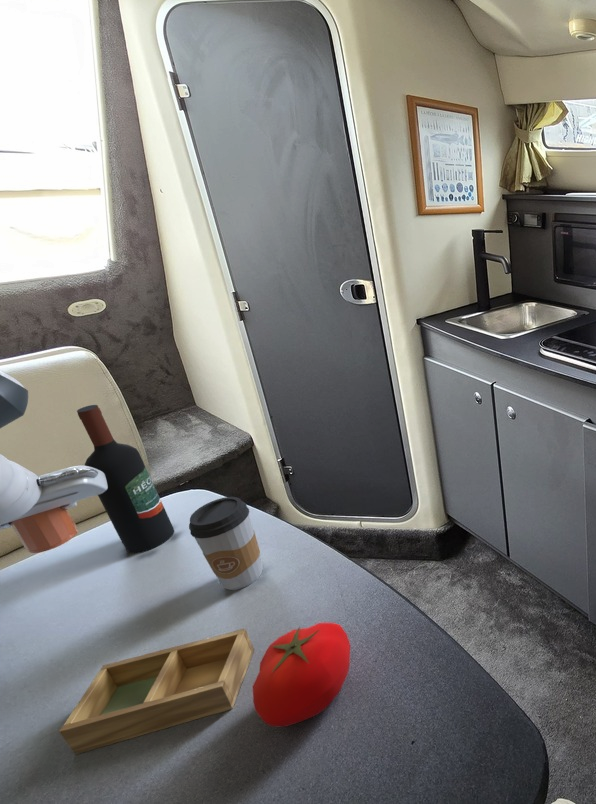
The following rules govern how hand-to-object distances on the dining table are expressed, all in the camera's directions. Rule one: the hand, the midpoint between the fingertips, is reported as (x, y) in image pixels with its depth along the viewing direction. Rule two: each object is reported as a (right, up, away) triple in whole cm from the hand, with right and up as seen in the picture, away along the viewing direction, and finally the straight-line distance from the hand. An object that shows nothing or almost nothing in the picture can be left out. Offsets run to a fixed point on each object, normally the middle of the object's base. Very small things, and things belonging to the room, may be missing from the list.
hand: (39, 513), depth 84 cm
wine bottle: (+5, -10, +15) cm, 19 cm away
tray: (+36, -21, -15) cm, 44 cm away
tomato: (+56, -21, -15) cm, 61 cm away
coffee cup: (+31, -13, +5) cm, 35 cm away
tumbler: (+1, -5, +2) cm, 5 cm away
